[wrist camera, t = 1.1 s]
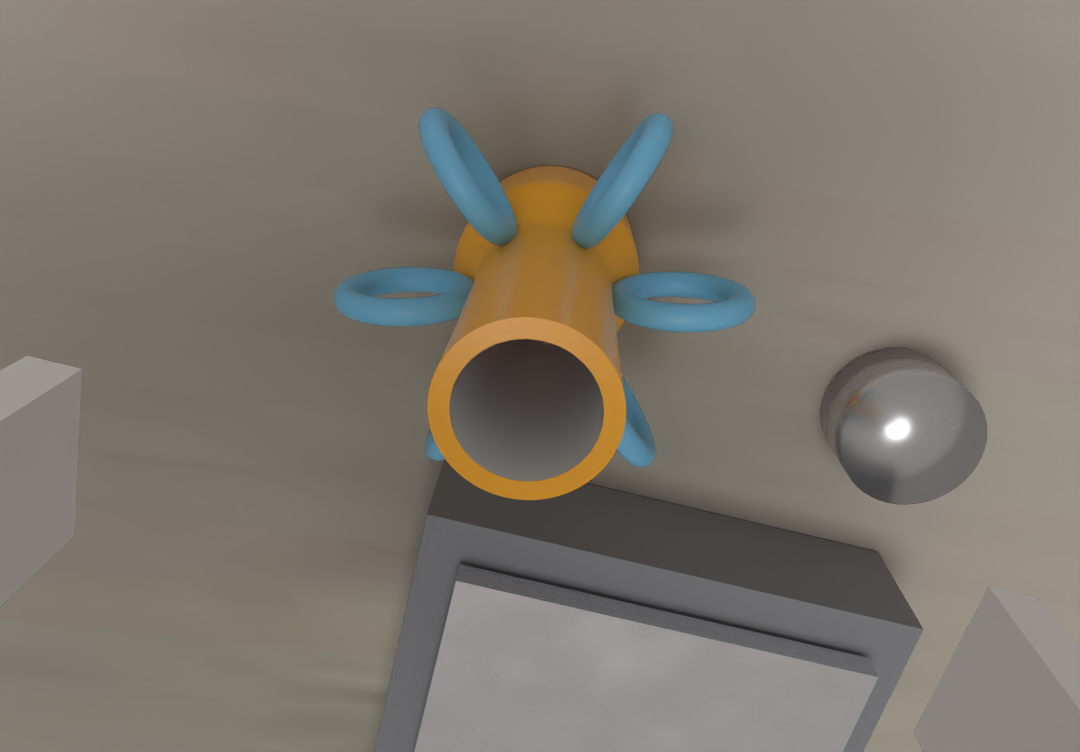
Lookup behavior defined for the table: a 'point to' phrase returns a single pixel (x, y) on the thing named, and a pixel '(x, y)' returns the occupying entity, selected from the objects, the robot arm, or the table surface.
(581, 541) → the base
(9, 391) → the robot arm
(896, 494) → the cylinder
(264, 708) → the table surface
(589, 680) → the pan
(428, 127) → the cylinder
